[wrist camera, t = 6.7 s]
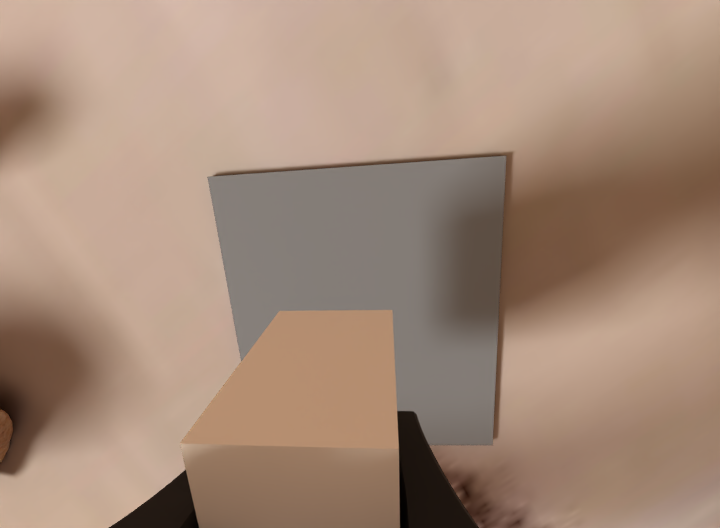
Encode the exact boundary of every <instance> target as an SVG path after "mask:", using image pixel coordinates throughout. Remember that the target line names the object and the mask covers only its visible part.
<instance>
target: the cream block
mask: <svg viewBox="0 0 720 528" xmlns="http://www.w3.org/2000/svg"><path fill="white" fill-rule="evenodd" d="M180 446H181V451H182V455H183V459H184V464H185V468H186V472H187V477H188V481H189V486H190V490H191V494H192V499H193V503H194V508H195V512H196V516H197V521H198V525H199V528H400V497H399V441H398V420H397V398H396V377H395V356H394V334H393V313H392V310H324V311H279V312H278V313H277V315H276V316H275V317H274V319H273V320H272V321H271V323H270V324H269V325H268V327H267V328H266V329H265V331H264V332H263V333H262V335H261V336H260V337H259V339H258V340H257V341H256V343H255V344H254V345H253V347H252V348H251V349H250V351H249V352H248V353H247V355H246V356H245V357H244V359H243V360H242V361H241V363H240V364H239V365H238V367H237V368H236V369H235V371H234V372H233V373H232V375H231V376H230V377H229V379H228V380H227V381H226V383H225V384H224V385H223V387H222V388H221V389H220V391H219V392H218V393H217V395H216V396H215V397H214V399H213V400H212V401H211V403H210V404H209V405H208V407H207V408H206V409H205V411H204V412H203V413H202V415H201V416H200V417H199V419H198V420H197V421H196V423H195V424H194V425H193V427H192V428H191V429H190V431H189V432H188V433H187V435H186V436H185V438H184V439H183V440H182V442H181V443H180Z"/></svg>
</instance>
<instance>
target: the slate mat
mask: <svg viewBox="0 0 720 528" xmlns="http://www.w3.org/2000/svg"><path fill="white" fill-rule="evenodd" d="M505 173H506V156H494V157H480V158H466V159H452V160H438V161H424V162H410V163H395V164H381V165H367V166H353V167H339V168H325V169H311V170H297V171H283V172H268V173H254V174H240V175H226V176H212V177H208V182H209V188H210V193H211V199H212V204H213V210H214V215H215V221H216V226H217V231H218V237H219V242H220V248H221V253H222V259H223V264H224V270H225V275H226V281H227V286H228V292H229V297H230V303H231V308H232V314H233V319H234V324H235V330H236V335H237V341H238V346H239V352H240V357H241V361H242V360H243V359H244V357H245V356H246V355H247V353H248V352H249V351H250V349H251V348H252V347H253V345H254V344H255V343H256V341H257V340H258V339H259V337H260V336H261V335H262V333H263V332H264V331H265V329H266V328H267V327H268V325H269V324H270V323H271V321H272V320H273V319H274V317H275V316H276V315H277V313H278V312H279V311H324V310H392V313H393V334H394V356H395V377H396V398H397V411H414V412H415V413H416V414H417V417H418V420H419V423H420V426H421V429H422V431H423V433H424V436H425V438H426V440H427V442H428V444H429V445H493V426H494V405H495V384H496V362H497V341H498V320H499V299H500V278H501V257H502V236H503V215H504V194H505Z"/></svg>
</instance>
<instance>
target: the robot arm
mask: <svg viewBox="0 0 720 528" xmlns="http://www.w3.org/2000/svg"><path fill="white" fill-rule="evenodd" d="M397 420H398V441H399V497H400V528H479V527H478V526H477V524H476V523H475V522H474V520H473V519H472V517H471V516H470V514H469V513H468V512H467V510H466V509H465V507H464V506H463V504H462V502H461V501H460V499H459V498H458V496H457V495H456V493H455V491H454V490H453V488H452V486H451V485H450V483H449V482H448V480H447V478H446V476H445V475H444V473H443V471H442V469H441V467H440V466H439V464H438V462H437V460H436V458H435V456H434V454H433V452H432V450H431V448H430V446H429V444H428V442H427V440H426V438H425V436H424V433H423V431H422V429H421V426H420V423H419V420H418V417H417V414H416V413H415V412H414V411H397ZM109 528H199V525H198V521H197V516H196V512H195V508H194V503H193V499H192V494H191V490H190V486H189V481H188V477H187V472H186V470H185V471H184V472H182V473H181V474H180V475H179V476H178V477H177V478H175V479H174V480H173V481H172V482H171V483H169V484H168V485H167V486H166V487H164V488H163V489H162V490H161V491H159V492H158V493H157V494H155V495H154V496H153V497H152V498H150V499H149V500H148V501H146V502H145V503H144V504H142V505H141V506H139V507H138V508H137V509H135V510H134V511H133V512H131V513H130V514H129V515H127V516H126V517H124V518H123V519H121V520H120V521H118V522H117V523H115V524H114V525H112V526H111V527H109Z"/></svg>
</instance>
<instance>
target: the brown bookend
mask: <svg viewBox="0 0 720 528" xmlns="http://www.w3.org/2000/svg"><path fill="white" fill-rule="evenodd" d="M12 433H13V426H12V421H11V419H10V417H9V415H8V414H7V413H6V412H4V411H3V410H1V409H0V463H1V461H2V460H3V458H4V456H5V453H6V452H7V451H8V448H9V444H10V439H11V436H12Z"/></svg>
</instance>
